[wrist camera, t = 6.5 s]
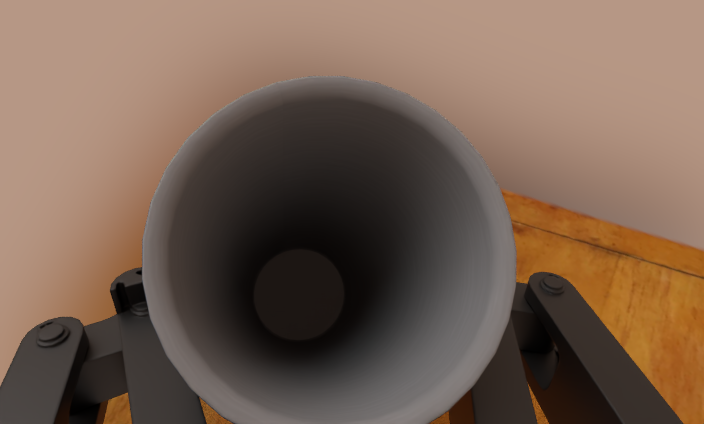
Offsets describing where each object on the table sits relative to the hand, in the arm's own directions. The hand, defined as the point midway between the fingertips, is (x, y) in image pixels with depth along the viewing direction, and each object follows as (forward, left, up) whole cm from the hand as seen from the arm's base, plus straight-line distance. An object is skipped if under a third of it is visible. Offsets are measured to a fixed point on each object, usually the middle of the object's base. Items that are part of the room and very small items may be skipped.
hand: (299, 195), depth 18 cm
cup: (+2, -3, -6) cm, 7 cm away
